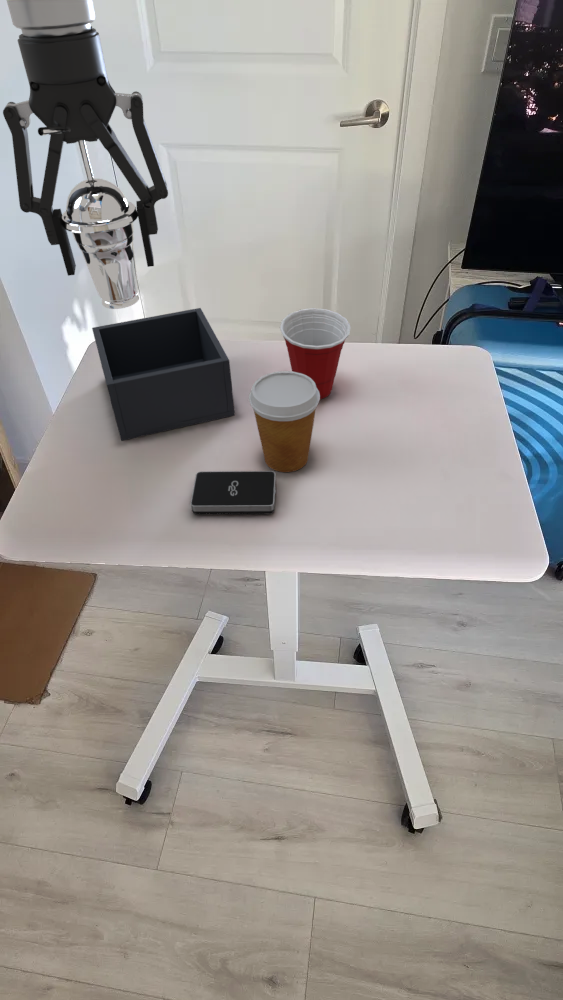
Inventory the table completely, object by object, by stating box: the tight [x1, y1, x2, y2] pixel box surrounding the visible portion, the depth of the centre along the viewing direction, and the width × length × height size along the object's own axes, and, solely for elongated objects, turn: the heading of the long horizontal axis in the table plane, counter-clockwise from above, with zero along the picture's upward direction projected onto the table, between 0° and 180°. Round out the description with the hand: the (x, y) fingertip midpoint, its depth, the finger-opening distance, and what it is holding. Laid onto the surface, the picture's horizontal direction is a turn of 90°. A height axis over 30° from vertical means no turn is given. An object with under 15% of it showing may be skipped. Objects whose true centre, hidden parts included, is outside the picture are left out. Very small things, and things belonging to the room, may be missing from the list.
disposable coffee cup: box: [248, 370, 321, 473], centre depth 87 cm, size 10×10×12 cm
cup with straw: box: [37, 125, 140, 310], centre depth 70 cm, size 8×9×20 cm
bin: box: [91, 307, 236, 442], centre depth 100 cm, size 18×18×10 cm
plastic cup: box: [279, 307, 352, 400], centre depth 99 cm, size 11×11×12 cm
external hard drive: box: [190, 470, 277, 515], centre depth 84 cm, size 7×11×2 cm, turn 89°
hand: (111, 266), depth 74 cm, fingers closed on cup with straw, 8 cm apart
